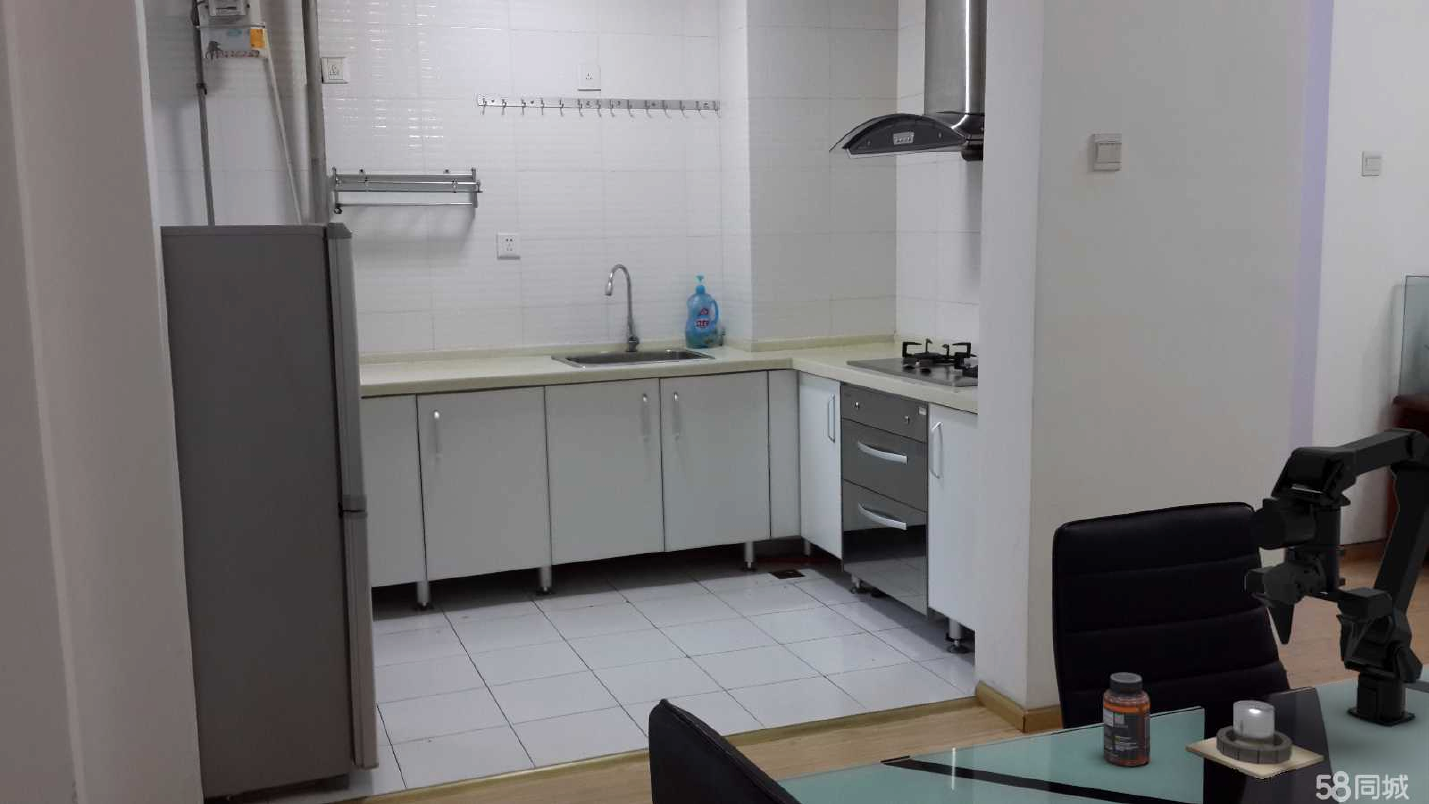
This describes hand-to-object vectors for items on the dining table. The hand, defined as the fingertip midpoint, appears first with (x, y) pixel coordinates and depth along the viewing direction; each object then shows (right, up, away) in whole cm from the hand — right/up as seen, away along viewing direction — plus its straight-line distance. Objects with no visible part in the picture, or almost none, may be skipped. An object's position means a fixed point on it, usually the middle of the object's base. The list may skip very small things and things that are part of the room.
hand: (1314, 652), depth 171 cm
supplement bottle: (-27, -14, -4) cm, 31 cm away
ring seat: (-10, -13, -4) cm, 17 cm away
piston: (-10, -12, -4) cm, 16 cm away
